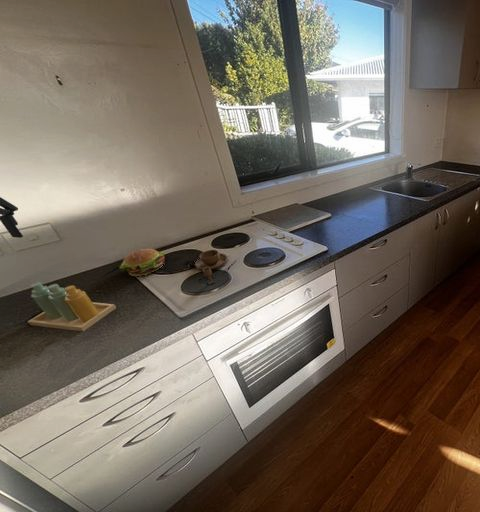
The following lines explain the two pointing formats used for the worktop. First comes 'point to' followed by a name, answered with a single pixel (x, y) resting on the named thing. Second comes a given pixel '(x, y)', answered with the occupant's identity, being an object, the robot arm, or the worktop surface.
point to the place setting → (211, 262)
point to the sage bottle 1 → (44, 300)
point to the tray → (74, 324)
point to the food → (143, 262)
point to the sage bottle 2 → (61, 302)
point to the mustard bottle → (80, 303)
